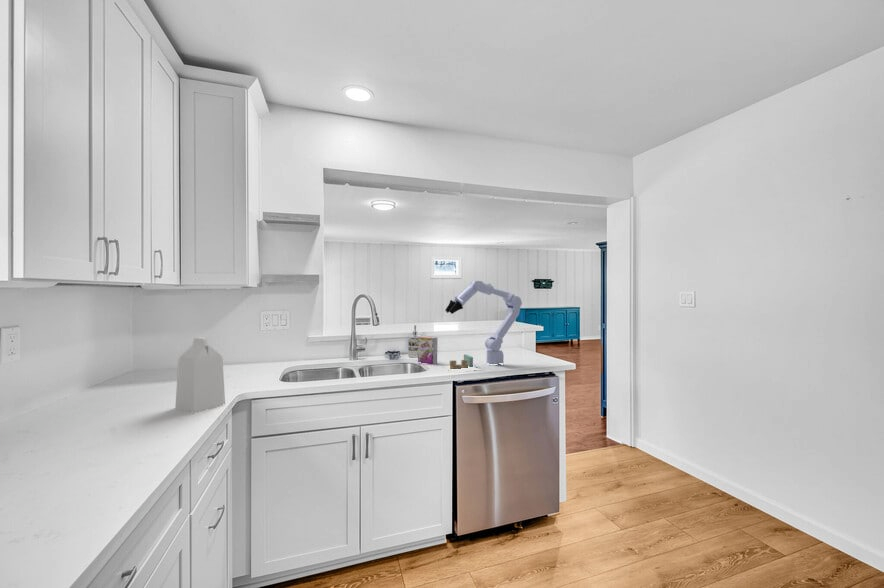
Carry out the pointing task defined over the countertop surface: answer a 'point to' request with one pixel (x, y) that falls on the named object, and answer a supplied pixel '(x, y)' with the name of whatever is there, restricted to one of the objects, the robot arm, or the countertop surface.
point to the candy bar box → (427, 349)
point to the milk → (200, 378)
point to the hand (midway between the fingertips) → (448, 312)
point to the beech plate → (453, 365)
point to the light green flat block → (469, 360)
